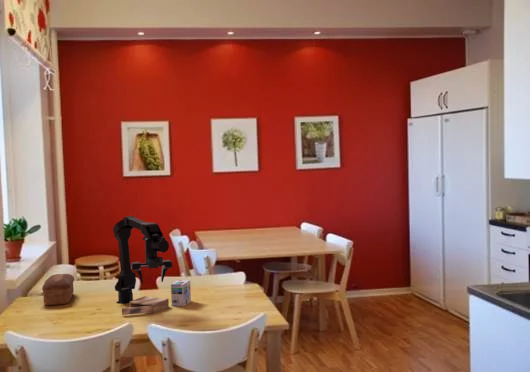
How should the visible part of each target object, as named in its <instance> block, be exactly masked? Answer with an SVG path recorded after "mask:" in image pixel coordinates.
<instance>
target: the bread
mask: <svg viewBox="0 0 530 372" xmlns="http://www.w3.org/2000/svg"><path fill="white" fill-rule="evenodd" d="M74 277H75V276H74V275H72V274H69V273H57V274H53V275H51V276H49V277H48V278H46V280H45V281H44V283H43V285H42V287H41V290H42V295H43V304H45V306H58V305H59V306H60V305H66V304H68V303H69V302H70V301H71V299H72V296H73V294H74V281H75V278H74Z"/></svg>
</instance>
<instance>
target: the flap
mask: <svg viewBox="0 0 530 372" xmlns="http://www.w3.org/2000/svg"><path fill="white" fill-rule="evenodd" d="M152 312H153V306H143V307H131V308H129V307H121V315H122V316H126V315H137V314H153V313H152Z"/></svg>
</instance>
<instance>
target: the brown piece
mask: <svg viewBox="0 0 530 372" xmlns="http://www.w3.org/2000/svg"><path fill="white" fill-rule="evenodd" d="M128 304H129V305H128V306H129V307H128V308H131V307H143V306H153V312H152V313H151V314H155V313H157V312H160V311H162V310H164V309H167V308H169V307H170V306H169V305H170V304H169V298H164V297H155V296H147V295H145V296H142V297H139V298H136V299H133V301H130V302H129V303H128Z"/></svg>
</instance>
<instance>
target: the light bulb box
mask: <svg viewBox="0 0 530 372" xmlns="http://www.w3.org/2000/svg"><path fill="white" fill-rule="evenodd" d="M170 292H171V293H170V295H171V296H170V297H171V306H172V307H184V306H186V305H188V304H189V303H191V301H192V298H191V297H192V294H191V280H189V279H177V280H176V281H174V282H173V283H170Z"/></svg>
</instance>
